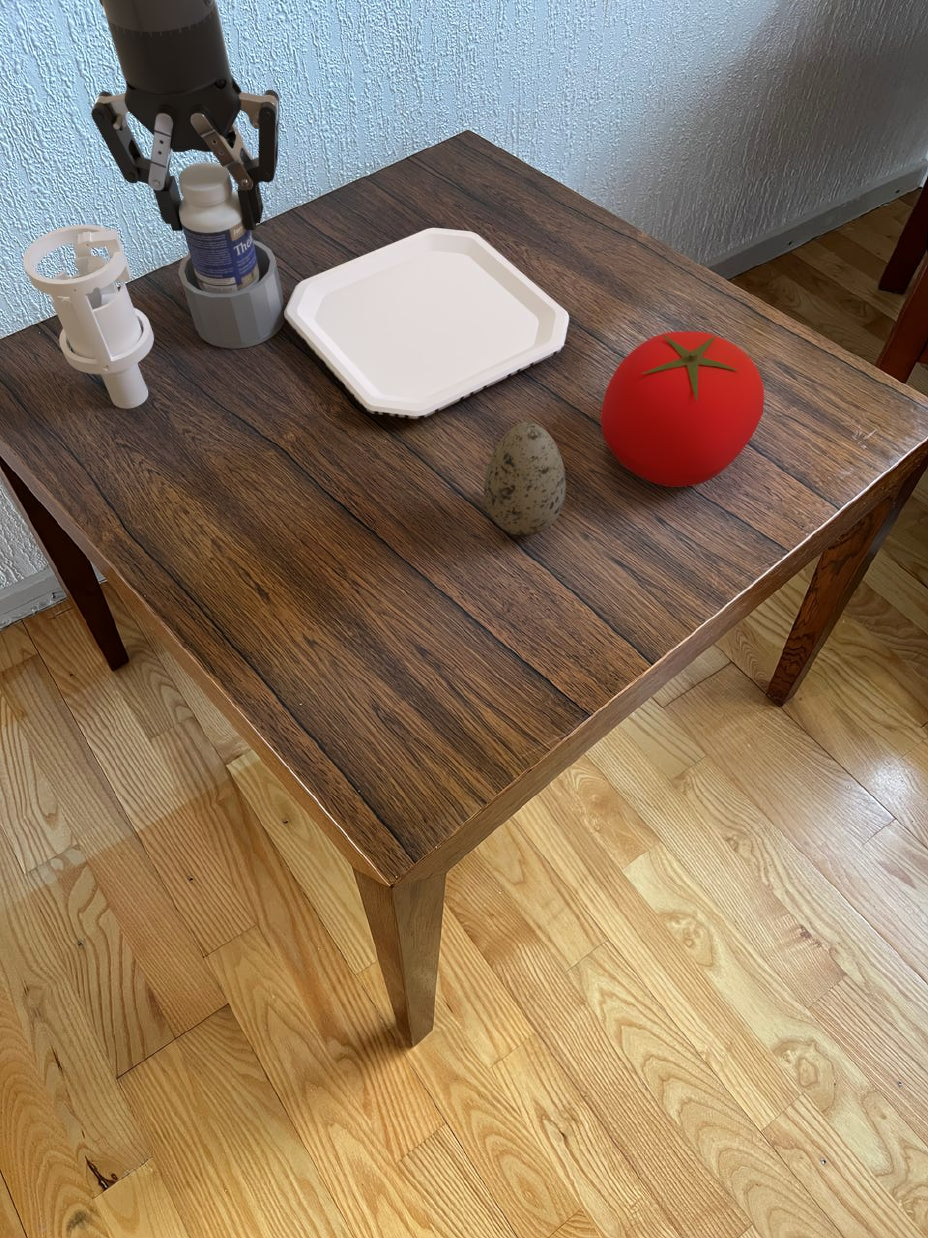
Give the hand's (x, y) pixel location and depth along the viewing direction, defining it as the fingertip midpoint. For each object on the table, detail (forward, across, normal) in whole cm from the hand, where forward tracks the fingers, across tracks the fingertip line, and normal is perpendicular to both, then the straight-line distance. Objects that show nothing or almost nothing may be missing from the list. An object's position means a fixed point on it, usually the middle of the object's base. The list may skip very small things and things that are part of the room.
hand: (215, 224), depth 79 cm
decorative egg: (+10, -25, +24) cm, 36 cm away
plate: (+10, -17, +2) cm, 20 cm away
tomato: (+10, -37, +17) cm, 42 cm away
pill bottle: (+6, 0, 0) cm, 6 cm away
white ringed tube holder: (+10, +8, +10) cm, 16 cm away
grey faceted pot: (+10, 0, 0) cm, 10 cm away
